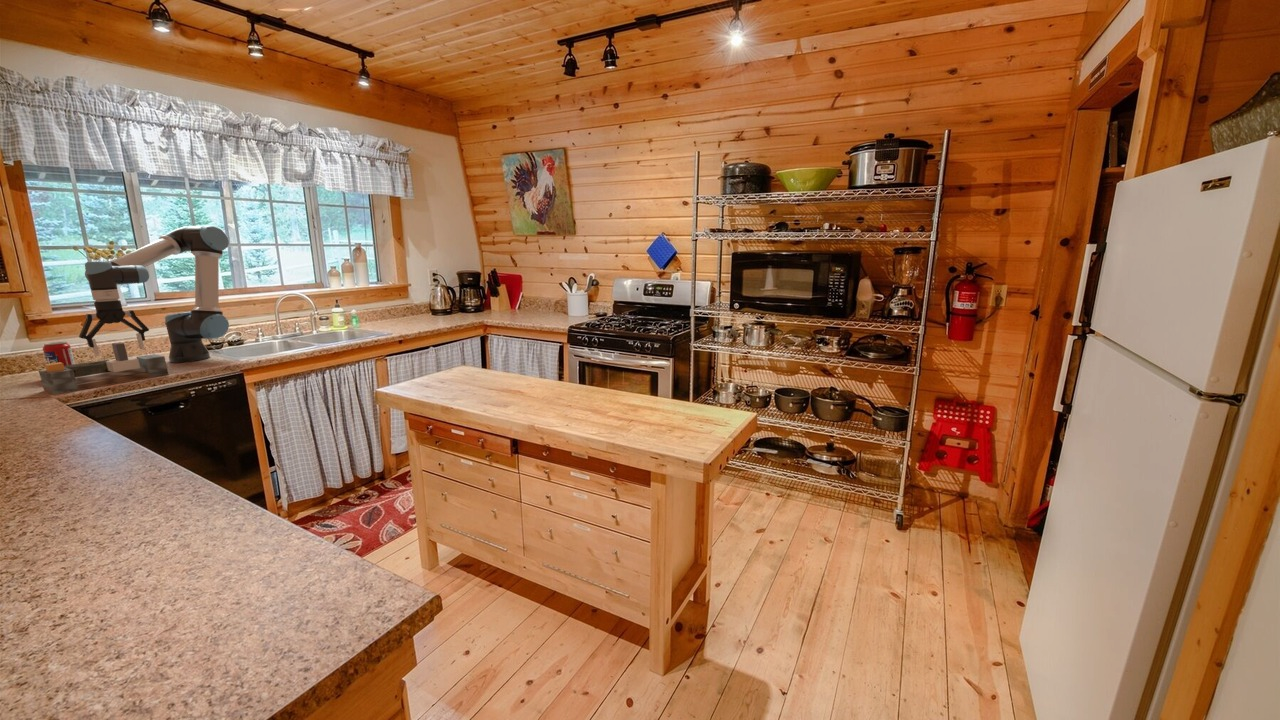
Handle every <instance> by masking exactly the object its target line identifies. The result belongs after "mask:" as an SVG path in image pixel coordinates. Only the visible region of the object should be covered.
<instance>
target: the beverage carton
mask: <svg viewBox="0 0 1280 720" xmlns="http://www.w3.org/2000/svg"><path fill="white" fill-rule="evenodd" d="M110 360H111V359H104V360H97V361H91V362H83V363H75V364H72V365H64V367H66V368H69V369H72V370H73V372H74V376H75V377H81V376H87V375H94V374H100V373H106V372H111V371H108V367H107V364H106V361H110Z"/></svg>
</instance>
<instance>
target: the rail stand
mask: <svg viewBox="0 0 1280 720" xmlns="http://www.w3.org/2000/svg"><path fill="white" fill-rule="evenodd" d="M135 358H137V359H138V360H139V364H140V368H138V369H132V370H125V371H119V372H106V373H100V374H94V375H87V376H81V377H75V376H74V372H73V370H72V369H69V368H66V367H64V368H65V370H62V371H55V372H47V371H46V369H43V370H38V373H39V376H40V380H41V384H42V388H43V392H46V393H47V394H50V395H53V396H54V395H57V394H64V393H70V392H74V391H80V390H86V389H90V388H91V389H92V388H98V387H104V386H110V385H115V384H120V383H121V384H122V383H128V382H131V381H138V380H144V379H150V378H151V379H152V378H155V377H162V376H166V375H169V371H168V366H167V362H166V358H165V356H164V355H161V354H160V355H159V354H155V353H154V354H153V353H152V354H146V355H139V356H136V357H135Z"/></svg>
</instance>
